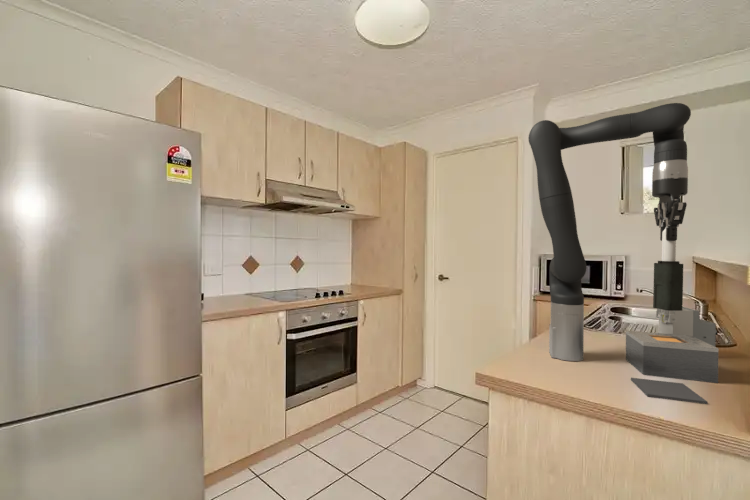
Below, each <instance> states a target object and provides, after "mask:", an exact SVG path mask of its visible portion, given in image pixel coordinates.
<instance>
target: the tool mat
mask: <svg viewBox="0 0 750 500" xmlns="http://www.w3.org/2000/svg"><path fill="white" fill-rule="evenodd" d="M630 381H631V382H632V383H633V384H634V385H635V386H636V387H637V388H639V390H640V391H641V392H642V393H644V395H645V396H646V397H647V398H648V397H649V398H655V399H656V398H658V399H661V400H662V399H663V400H671V401H678V402H685V403H686V402H687V403H695V404H700V405H701V404H702V405H708V400H706V399H705V398H703V397H702V396H700V395H699V394H698V393H696V392H695V391H694V390H692V389H691V388H689V387H688V386H687V385H686V384H685V383H681V382H673V381H665V380H657V379H646V378H637V377H630Z"/></svg>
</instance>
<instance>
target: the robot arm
mask: <svg viewBox="0 0 750 500" xmlns="http://www.w3.org/2000/svg"><path fill="white" fill-rule="evenodd" d="M691 115H692V112H691V108H690V107H689V106H688V105H686V104H684V103H682V102H681V103H680V102H671V103H665V104H661V105H657V106H654V107H651V108H648V109H644V110H641V111H636V112H630V113H629V112H628V113H623V114H619V115H613V116H609V117H604V118H600V119H597V120H595V121H591V122H588V123H583V124H580V125H577V126H571V127H559V125H557V123H556V122H554V121H552V120H548V119H546V120H540V121H537V122H536V123H535V124H534V125H533V126H532V127H531V129H530V130H529V134H528V144H529V146H530V149H531V151H532V155H533V158H534V162H535V168H536V173H537V174H536V176H537V189H538V198H539V204H540V208H541V209H540V211H541V215H542V217H543V221H544V223H545V226H546V229H547V231H548V234H549V236H550V240H551V244H552V252H553V257H552V259H551V260H550V262H549V272H548V274H549V294H550V323H549V325H548V326H549V329H548V330H549V331H548V333H549V336H548V337H549V339H548V340H549V341H548V344H549V345H548V347H549V349H548V350H549V351H548V353H549V354H550V356H551V358H552V359H558V360H562V361H569V362H580V361H583V360H584V347H585V346H584V345H585V343H584V337H585V336H584V330H585V329H584V328H585V326H584V323H585V322H584V320H585V319H584V316H585V315H584V313H585V308H584V307H585V296H584V292H583V289H582V279H583V278H584V277H585V275H586V272H587V263H586V260H585V256H584V253H583V250H582V246H581V243H580V239H579V235H578V228H577V227H578V226H577V218H576V217H577V216H576V212H575V204H574V198H573V193H572V189H571V185H570V182H569V178H568V175H567V171H566V169H565V166H564V162H563V157H562V150H565V149H570V148H574V147H578V146H579V147H580V146H585V145H589V144H591V145H592V144H597V143H598V144H599V143H605V142H611V141H621V140H628V139H635V138H637V137H640V136H642V135H644V134H646V133H652V139H653V146H654V150H653V167H652V174H651V175H652V177H651V178H652V184H651V191H652V192H651V196H652V197H653V198H657V199H658V204H657V207H654V208H653V214H654V219H655V224H656V227H659V228H660V233H659V235H660V237H659V238H660V241H661V242H662V232H663V231H664V229H665V228H666V240H667V241H676V242H677V240H678V228H679V226H680V225H682V224H683V221H684V217H685V213H686V209H687V205H688V204H687V201H685V202H684V201H683V202H682V199H681V197H683V196H686V195H687V194H688V191H689V190H688V188H689V184H688V183H689V179H688V177H689V167H688V145H687V141H685V140H684V132H685V131H684V129H685V128H684V127H685V125H686V124H687V123H688V121H689V120H690V119H691ZM666 226H667V227H666Z"/></svg>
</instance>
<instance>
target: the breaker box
mask: <svg viewBox="0 0 750 500" xmlns="http://www.w3.org/2000/svg"><path fill="white" fill-rule="evenodd" d="M653 337H661V338H674V339H677V340H679V341H681V342H670V341H658V340H656V339H655V338H653ZM682 342H683V343H682ZM625 360H626V361H627V362H628V363H629V364H630V365H631V366H632V367H633V368H635V369H636V370H637V371H638V372H639V373H640V374H641V375H644V376H650V377H657V378H670V379H677V380H678V379H679V380H687V381H695V382H696V381H697V382H704V383H705V382H706V383H712V384H713V383H714V384H719V347H716V346H715V347H714V346H712V345H710V344H708V343H706V342H703V341H701V340H699V339H697V338H695V337H693V336H690V335H677V334H664V333H659V332H650V331H649V332H648V331H647V332H645V331H637V330H634V331H633V330H625Z"/></svg>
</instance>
